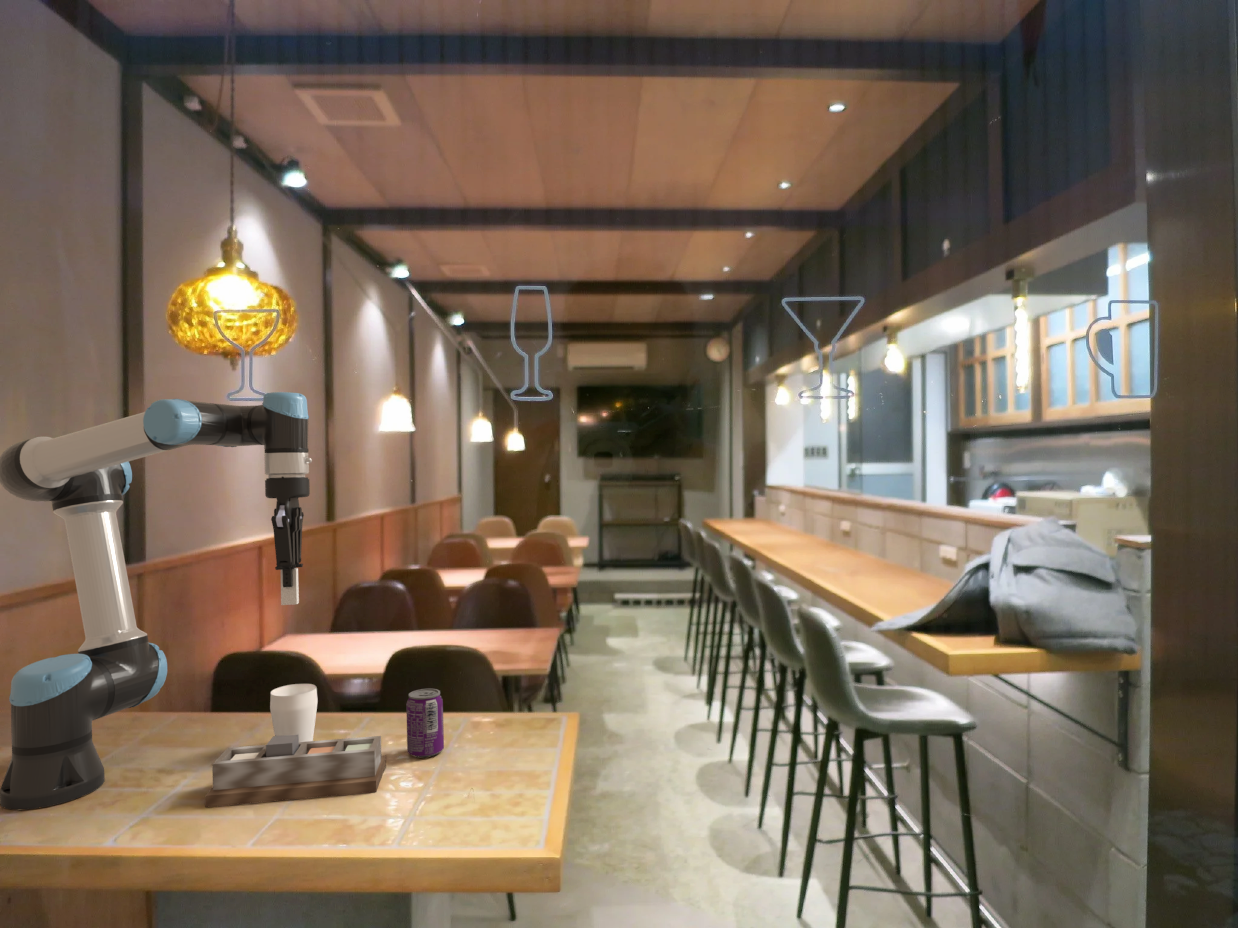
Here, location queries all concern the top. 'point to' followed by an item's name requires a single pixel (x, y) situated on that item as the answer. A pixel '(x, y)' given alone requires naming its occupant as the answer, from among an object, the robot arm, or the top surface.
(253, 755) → the key ivory
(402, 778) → the top surface
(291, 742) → the key charcoal
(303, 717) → the cup
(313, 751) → the key terracotta
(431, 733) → the beverage can
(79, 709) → the robot arm
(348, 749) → the key sage
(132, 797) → the top surface
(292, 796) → the slotted block tray
